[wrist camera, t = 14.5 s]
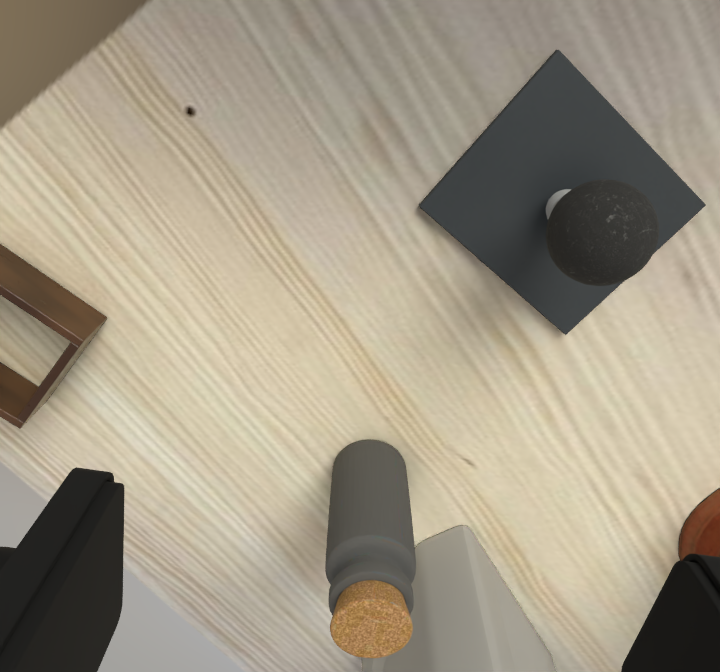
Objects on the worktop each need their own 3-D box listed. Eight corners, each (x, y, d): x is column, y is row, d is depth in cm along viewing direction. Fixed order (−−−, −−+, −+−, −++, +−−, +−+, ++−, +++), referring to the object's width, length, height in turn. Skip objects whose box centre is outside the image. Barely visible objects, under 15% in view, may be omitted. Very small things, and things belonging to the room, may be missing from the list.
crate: (-63, 330, 43) (-102, 355, 40) (-7, 239, 40) (-44, 255, 37) (47, 400, 46) (20, 429, 42) (107, 317, 43) (84, 341, 39)
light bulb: (502, 191, 39) (545, 229, 29) (584, 143, 37) (656, 167, 28) (539, 263, 40) (591, 320, 31) (618, 219, 39) (696, 265, 30)
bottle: (320, 482, 48) (303, 646, 35) (353, 427, 46) (348, 578, 33) (384, 509, 50) (392, 678, 36) (419, 456, 47) (442, 614, 34)
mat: (418, 205, 39) (419, 206, 39) (556, 49, 36) (558, 49, 35) (563, 332, 43) (565, 335, 43) (702, 203, 39) (706, 205, 39)
